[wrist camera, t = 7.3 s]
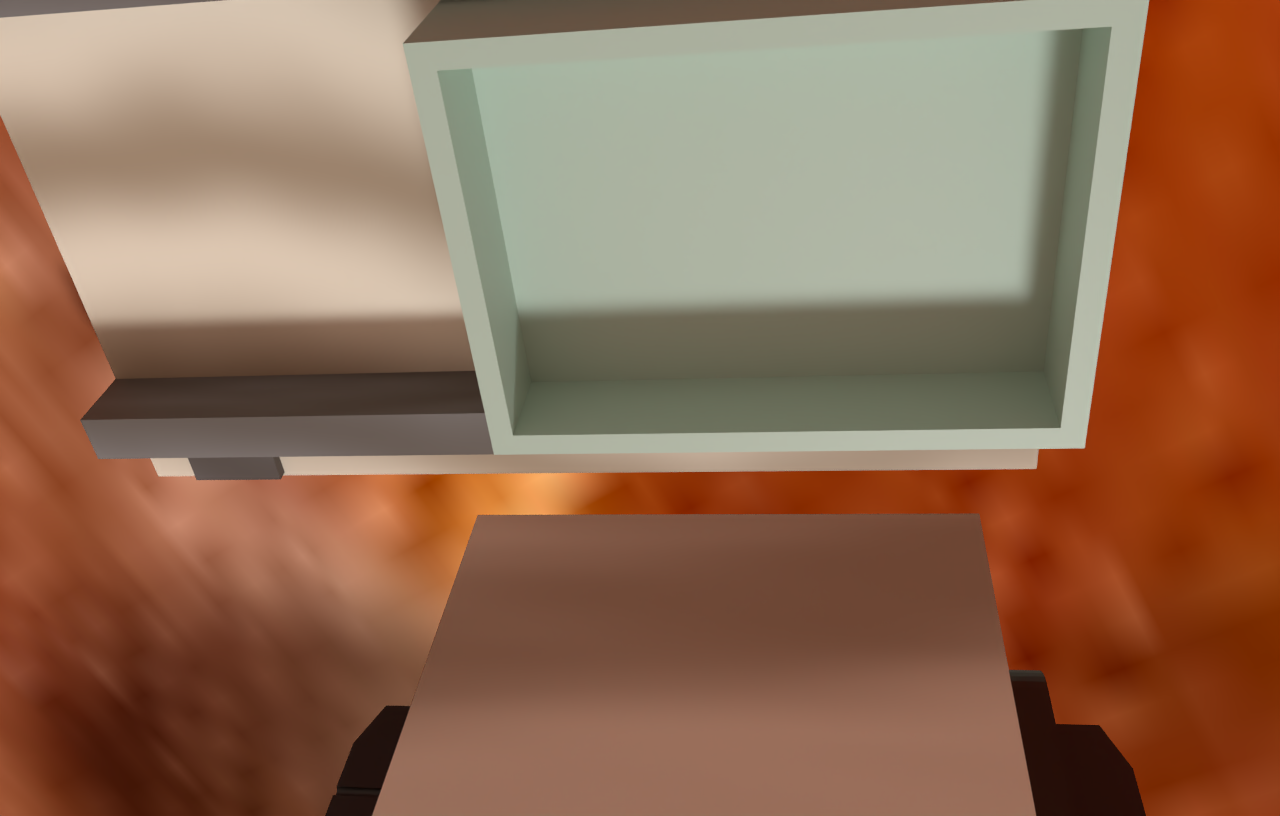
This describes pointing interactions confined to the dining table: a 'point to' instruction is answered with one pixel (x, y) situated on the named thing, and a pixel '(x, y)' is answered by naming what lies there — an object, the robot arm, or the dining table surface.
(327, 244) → the track
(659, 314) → the sage green tray
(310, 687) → the dining table surface
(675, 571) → the block
